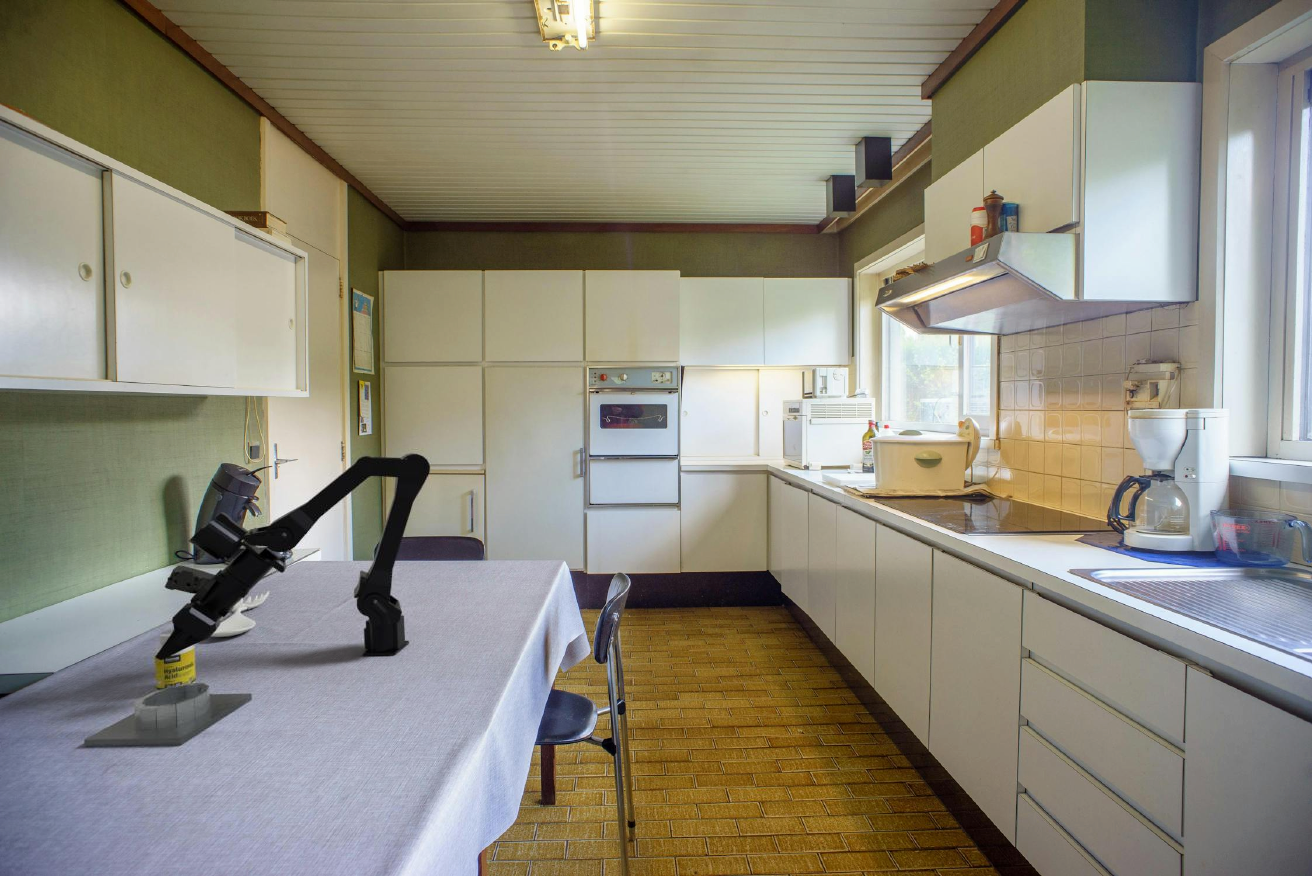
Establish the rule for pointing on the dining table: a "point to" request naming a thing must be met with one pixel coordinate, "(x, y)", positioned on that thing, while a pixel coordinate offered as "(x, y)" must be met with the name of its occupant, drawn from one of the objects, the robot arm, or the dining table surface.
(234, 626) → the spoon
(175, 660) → the supplement bottle
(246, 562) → the robot arm
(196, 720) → the duct collar
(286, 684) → the dining table surface
